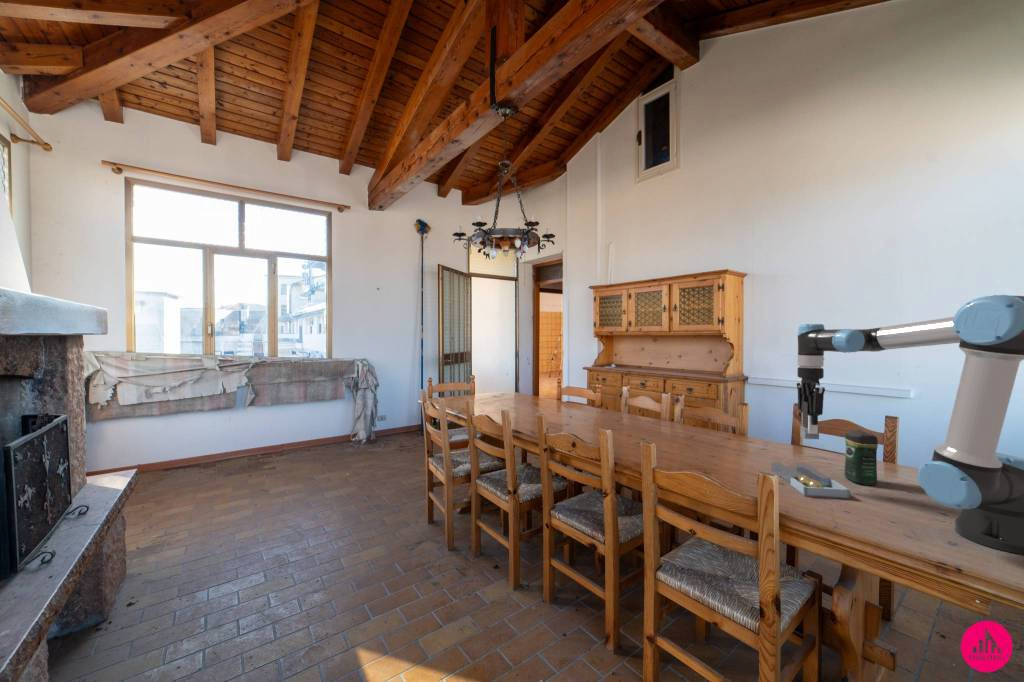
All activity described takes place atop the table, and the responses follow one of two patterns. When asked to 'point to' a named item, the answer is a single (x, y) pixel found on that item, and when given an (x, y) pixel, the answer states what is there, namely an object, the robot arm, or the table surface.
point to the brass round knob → (803, 479)
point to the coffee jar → (861, 457)
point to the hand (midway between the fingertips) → (809, 432)
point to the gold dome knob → (814, 483)
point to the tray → (822, 490)
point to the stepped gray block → (806, 423)
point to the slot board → (800, 473)
